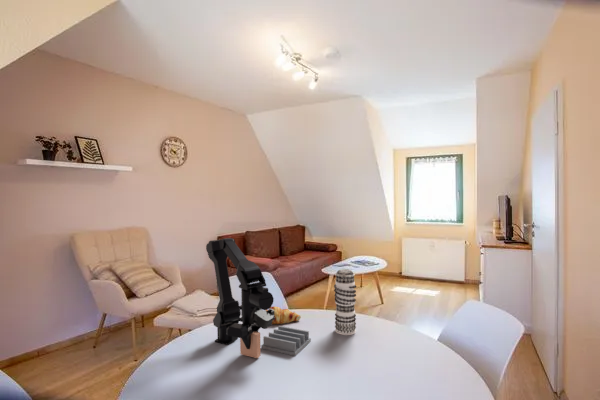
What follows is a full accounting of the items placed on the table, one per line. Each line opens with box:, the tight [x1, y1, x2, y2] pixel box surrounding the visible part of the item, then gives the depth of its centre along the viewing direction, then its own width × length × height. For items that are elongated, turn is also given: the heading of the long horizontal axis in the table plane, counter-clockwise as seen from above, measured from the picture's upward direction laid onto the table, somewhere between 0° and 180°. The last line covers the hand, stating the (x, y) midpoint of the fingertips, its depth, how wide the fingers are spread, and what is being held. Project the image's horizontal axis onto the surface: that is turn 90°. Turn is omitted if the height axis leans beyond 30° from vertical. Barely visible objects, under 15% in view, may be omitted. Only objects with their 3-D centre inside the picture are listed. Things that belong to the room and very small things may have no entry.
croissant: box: [266, 306, 302, 325], centre depth 146 cm, size 21×10×8 cm, turn 93°
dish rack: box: [260, 325, 312, 357], centre depth 122 cm, size 14×13×4 cm
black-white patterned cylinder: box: [333, 268, 357, 336], centre depth 135 cm, size 9×9×25 cm
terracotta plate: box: [239, 331, 262, 359], centre depth 113 cm, size 7×2×8 cm, turn 64°
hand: (250, 347), depth 113 cm, fingers closed on terracotta plate, 2 cm apart
